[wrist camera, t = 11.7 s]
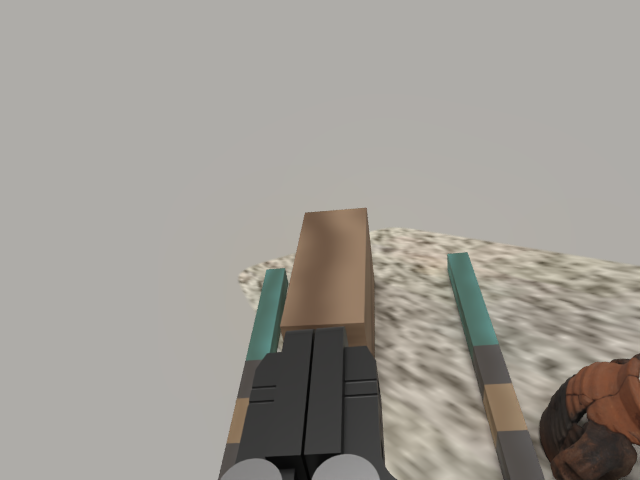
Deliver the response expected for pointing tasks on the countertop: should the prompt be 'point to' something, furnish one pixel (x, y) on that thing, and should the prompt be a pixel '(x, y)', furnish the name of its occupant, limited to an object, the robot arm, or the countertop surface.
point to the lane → (484, 349)
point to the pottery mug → (594, 422)
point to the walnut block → (333, 277)
